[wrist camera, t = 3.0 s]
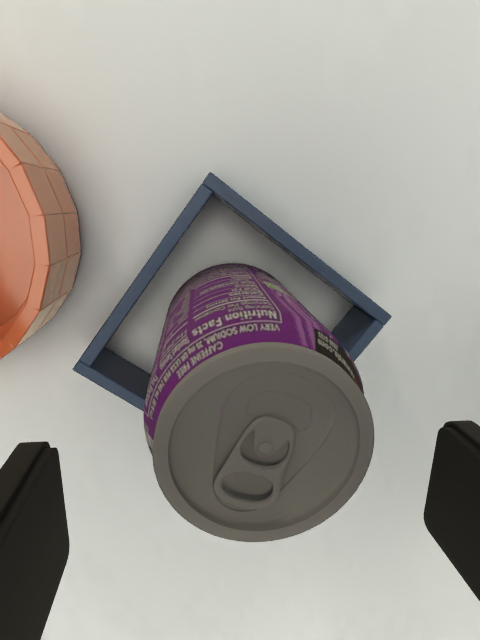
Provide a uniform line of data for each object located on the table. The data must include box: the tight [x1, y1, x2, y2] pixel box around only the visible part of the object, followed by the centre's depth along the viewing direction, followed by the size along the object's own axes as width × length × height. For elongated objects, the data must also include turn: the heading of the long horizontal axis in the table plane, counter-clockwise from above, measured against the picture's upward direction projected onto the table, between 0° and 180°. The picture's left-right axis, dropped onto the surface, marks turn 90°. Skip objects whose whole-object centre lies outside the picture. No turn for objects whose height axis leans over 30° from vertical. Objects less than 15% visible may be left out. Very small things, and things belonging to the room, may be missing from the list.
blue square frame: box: [73, 172, 391, 411], centre depth 21 cm, size 11×11×3 cm
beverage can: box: [144, 264, 374, 542], centre depth 17 cm, size 7×7×12 cm
